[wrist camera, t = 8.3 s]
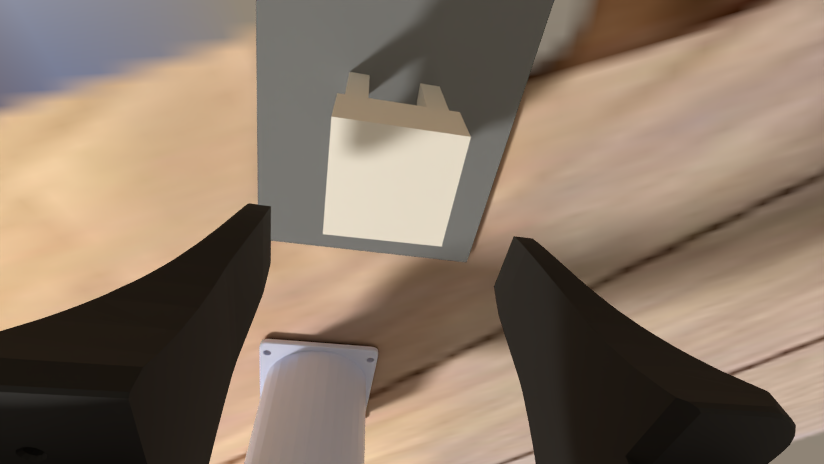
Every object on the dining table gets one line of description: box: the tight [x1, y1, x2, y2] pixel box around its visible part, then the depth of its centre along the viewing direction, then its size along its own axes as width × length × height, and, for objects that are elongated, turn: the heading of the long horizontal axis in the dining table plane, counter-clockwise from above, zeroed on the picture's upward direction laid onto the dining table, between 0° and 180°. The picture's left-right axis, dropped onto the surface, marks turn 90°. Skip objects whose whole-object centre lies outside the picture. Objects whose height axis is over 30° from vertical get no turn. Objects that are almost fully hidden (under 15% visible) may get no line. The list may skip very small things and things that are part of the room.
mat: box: [256, 0, 554, 262], centre depth 21 cm, size 15×12×1 cm
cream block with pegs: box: [323, 72, 471, 247], centre depth 18 cm, size 5×5×6 cm
